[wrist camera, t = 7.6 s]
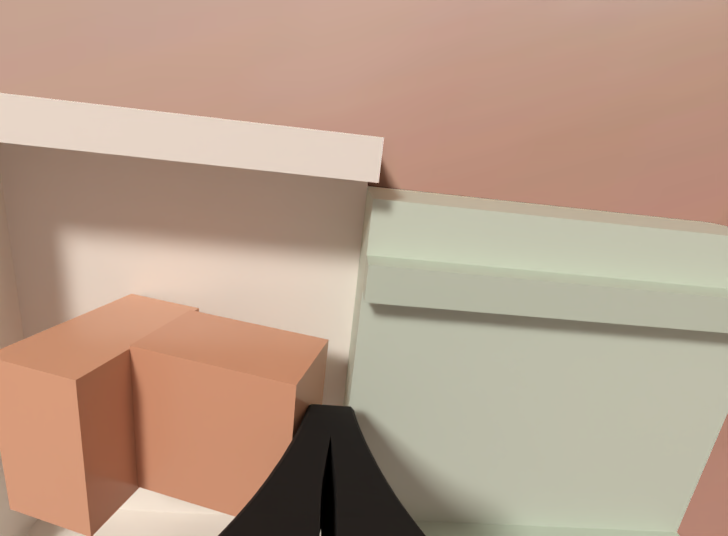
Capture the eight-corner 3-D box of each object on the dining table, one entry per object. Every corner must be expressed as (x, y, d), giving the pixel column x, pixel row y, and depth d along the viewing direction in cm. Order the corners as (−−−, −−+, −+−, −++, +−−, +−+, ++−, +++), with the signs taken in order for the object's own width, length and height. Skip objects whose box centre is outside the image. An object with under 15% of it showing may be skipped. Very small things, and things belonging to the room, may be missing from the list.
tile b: (75, 380, 9) (-16, 356, 10) (91, 537, 10) (9, 509, 11) (198, 308, 13) (131, 293, 14) (198, 426, 15) (137, 409, 15)
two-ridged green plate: (709, 222, 14) (836, 251, 11) (605, 514, 18) (672, 610, 15) (366, 185, 14) (375, 204, 10) (331, 501, 17) (328, 600, 14)
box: (371, 137, 13) (383, 137, 9) (328, 528, 18) (324, 636, 14) (-37, 90, 12) (-211, 68, 8) (31, 516, 17) (-61, 627, 13)
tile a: (328, 339, 12) (296, 385, 10) (316, 465, 13) (285, 532, 11) (190, 310, 13) (129, 345, 11) (191, 431, 14) (137, 486, 12)
